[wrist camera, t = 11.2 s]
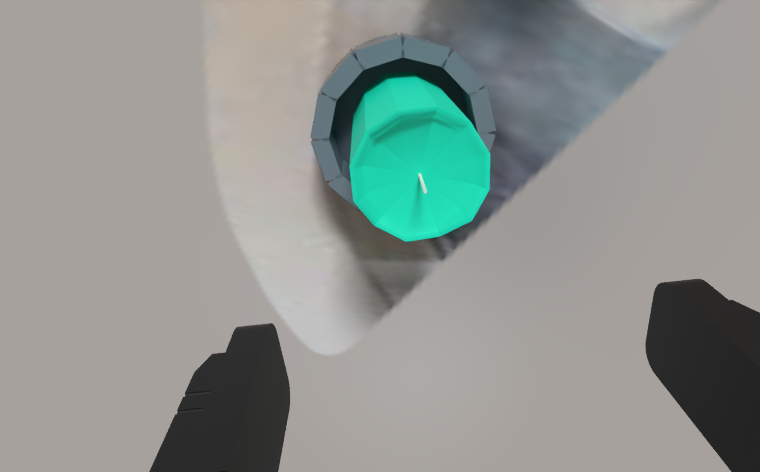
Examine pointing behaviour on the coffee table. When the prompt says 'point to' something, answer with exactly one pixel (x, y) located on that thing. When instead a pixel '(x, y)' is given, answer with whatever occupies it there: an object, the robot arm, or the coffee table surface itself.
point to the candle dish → (368, 67)
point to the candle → (415, 159)
